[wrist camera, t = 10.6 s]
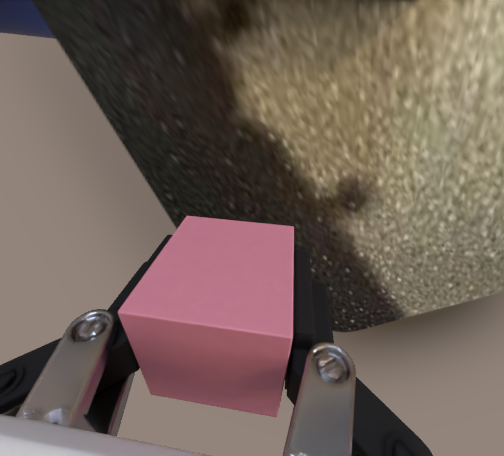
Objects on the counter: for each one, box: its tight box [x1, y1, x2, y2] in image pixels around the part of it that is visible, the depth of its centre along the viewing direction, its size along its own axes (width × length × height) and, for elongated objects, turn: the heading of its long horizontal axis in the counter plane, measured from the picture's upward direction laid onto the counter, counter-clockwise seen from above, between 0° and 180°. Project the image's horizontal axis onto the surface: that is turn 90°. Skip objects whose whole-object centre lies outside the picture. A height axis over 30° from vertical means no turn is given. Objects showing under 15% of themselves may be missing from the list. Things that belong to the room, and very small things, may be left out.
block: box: [118, 216, 294, 417], centre depth 9 cm, size 4×4×5 cm
